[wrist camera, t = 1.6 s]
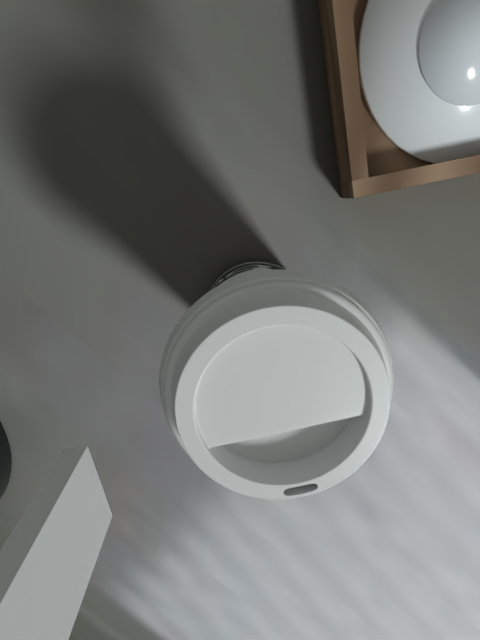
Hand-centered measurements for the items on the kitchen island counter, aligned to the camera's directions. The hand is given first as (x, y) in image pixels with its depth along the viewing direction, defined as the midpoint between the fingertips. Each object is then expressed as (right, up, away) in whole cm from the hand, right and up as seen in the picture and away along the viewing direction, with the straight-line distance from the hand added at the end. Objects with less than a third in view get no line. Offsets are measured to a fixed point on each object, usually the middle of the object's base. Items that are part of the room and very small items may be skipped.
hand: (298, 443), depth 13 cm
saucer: (+11, +20, +11) cm, 25 cm away
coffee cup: (-1, +5, +16) cm, 17 cm away
